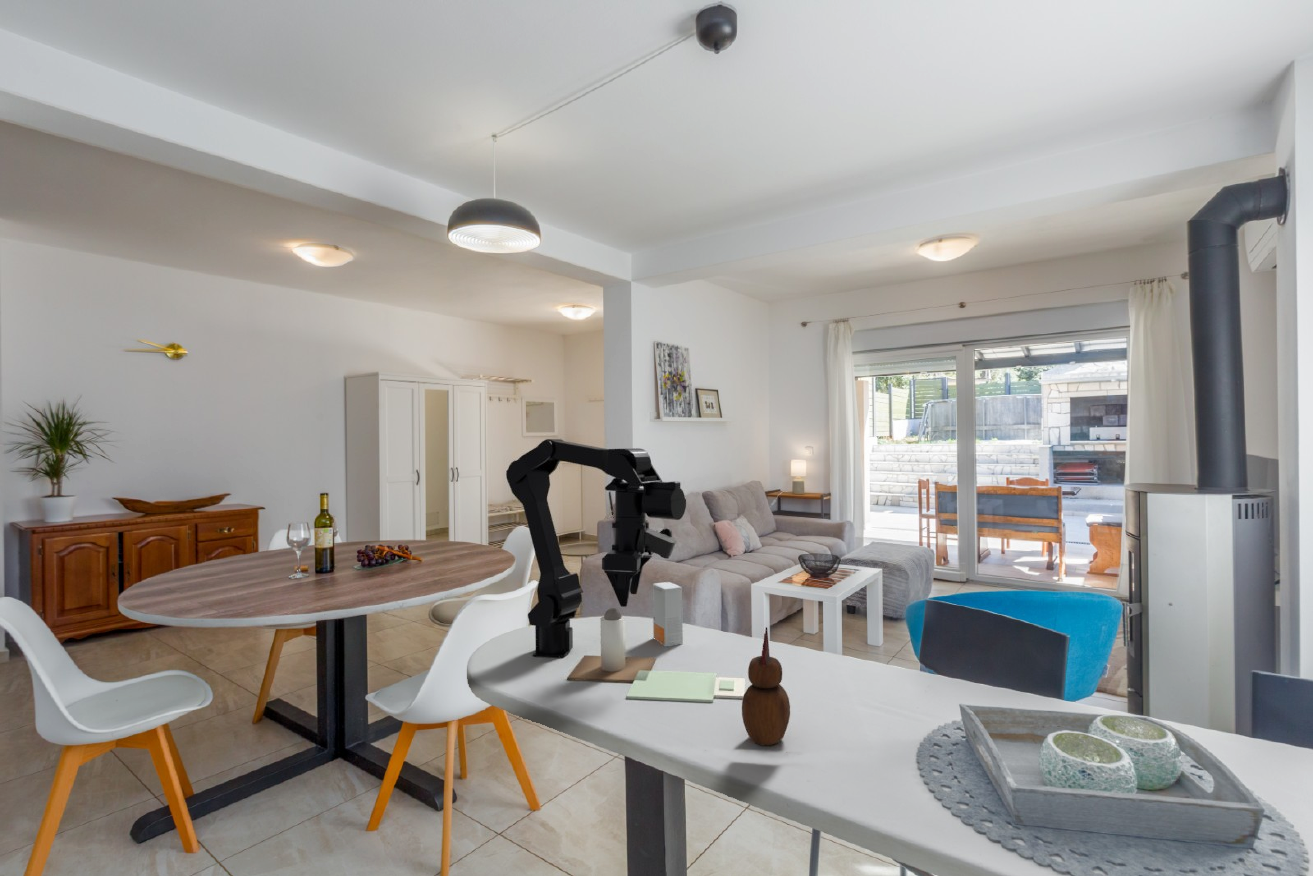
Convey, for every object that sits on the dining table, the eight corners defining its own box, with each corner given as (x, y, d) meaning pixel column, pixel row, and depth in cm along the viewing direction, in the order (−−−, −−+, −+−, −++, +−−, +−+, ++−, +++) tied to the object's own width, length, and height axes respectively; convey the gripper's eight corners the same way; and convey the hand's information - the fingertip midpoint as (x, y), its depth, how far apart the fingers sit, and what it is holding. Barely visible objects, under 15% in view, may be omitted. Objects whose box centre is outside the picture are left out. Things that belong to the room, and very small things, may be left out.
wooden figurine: (760, 725, 92) (758, 622, 92) (796, 736, 88) (794, 629, 89) (735, 742, 87) (733, 633, 87) (772, 755, 83) (770, 640, 83)
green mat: (626, 698, 103) (626, 696, 103) (639, 672, 114) (639, 670, 114) (713, 702, 101) (713, 699, 101) (716, 675, 112) (716, 673, 112)
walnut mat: (567, 679, 111) (567, 677, 111) (584, 657, 123) (584, 655, 123) (645, 683, 109) (645, 680, 109) (655, 660, 121) (655, 657, 121)
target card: (707, 697, 103) (707, 692, 103) (710, 679, 111) (710, 675, 111) (744, 698, 102) (744, 694, 102) (745, 680, 110) (745, 676, 110)
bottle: (598, 671, 114) (597, 611, 114) (604, 662, 119) (603, 605, 119) (623, 672, 114) (622, 611, 114) (627, 663, 118) (626, 605, 118)
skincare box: (652, 640, 134) (651, 583, 134) (670, 637, 135) (669, 581, 136) (665, 648, 128) (664, 589, 128) (683, 645, 130) (682, 586, 130)
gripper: (666, 524, 107) (664, 616, 107) (679, 511, 125) (678, 590, 125) (601, 521, 108) (600, 612, 108) (624, 509, 127) (623, 587, 127)
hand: (629, 600), depth 117 cm, fingers open, 9 cm apart
